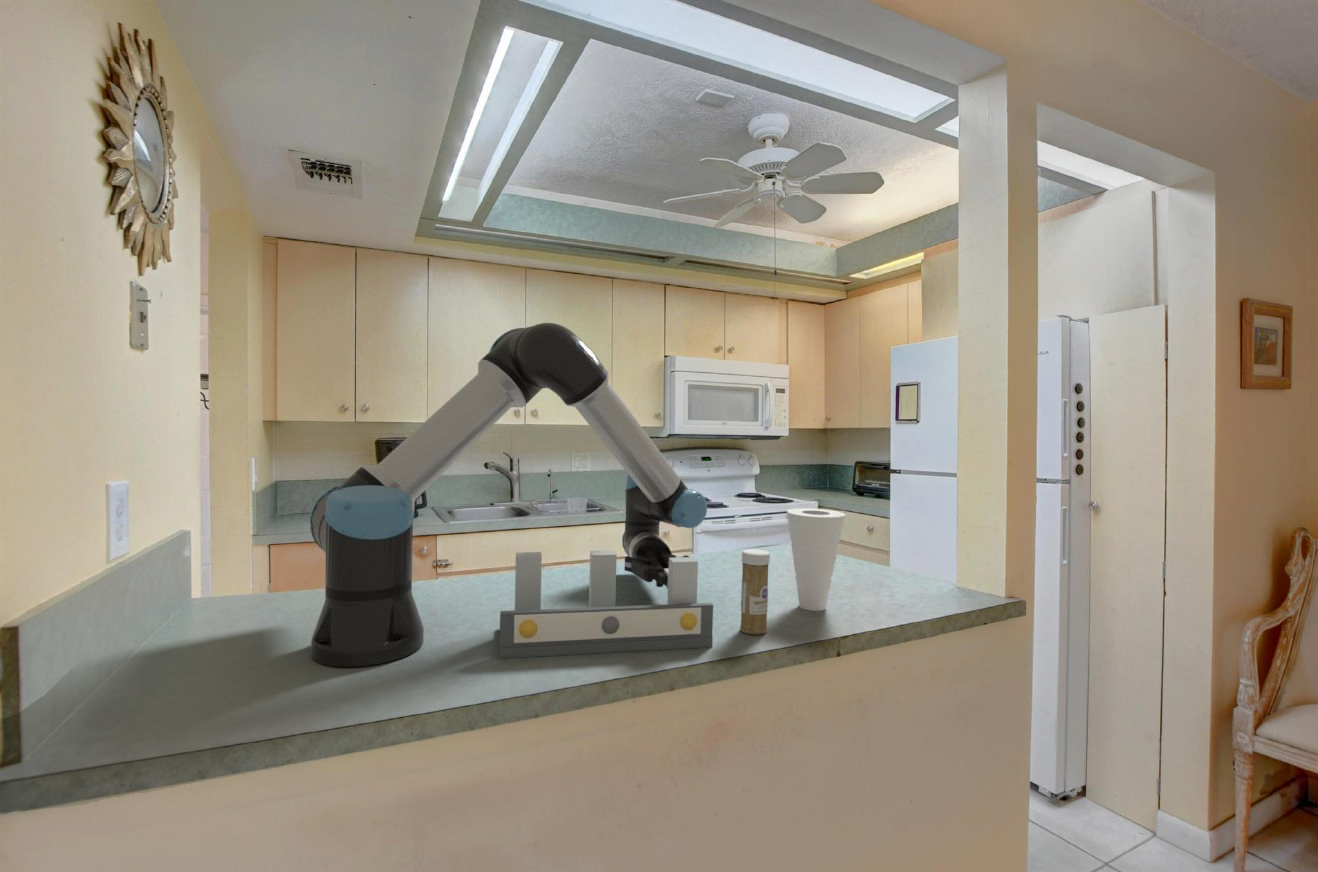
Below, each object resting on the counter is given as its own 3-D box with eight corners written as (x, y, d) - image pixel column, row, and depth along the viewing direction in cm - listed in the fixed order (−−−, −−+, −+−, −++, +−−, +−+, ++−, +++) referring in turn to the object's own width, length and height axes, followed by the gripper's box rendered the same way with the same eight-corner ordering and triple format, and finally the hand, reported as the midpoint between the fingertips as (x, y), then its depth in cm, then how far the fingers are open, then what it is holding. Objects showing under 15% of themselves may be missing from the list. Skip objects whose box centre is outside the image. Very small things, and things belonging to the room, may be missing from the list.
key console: (499, 659, 91) (500, 614, 90) (502, 628, 104) (502, 588, 103) (712, 647, 97) (714, 605, 97) (690, 619, 110) (691, 582, 110)
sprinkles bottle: (761, 637, 102) (764, 555, 102) (735, 632, 105) (737, 551, 104) (771, 629, 106) (773, 550, 106) (745, 624, 109) (748, 547, 108)
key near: (514, 625, 100) (515, 556, 99) (514, 619, 102) (515, 552, 102) (540, 624, 100) (541, 556, 100) (539, 618, 103) (541, 552, 103)
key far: (671, 631, 99) (673, 562, 98) (667, 625, 102) (668, 557, 101) (695, 630, 100) (697, 561, 99) (690, 624, 103) (692, 557, 102)
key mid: (590, 622, 102) (592, 555, 102) (588, 616, 105) (590, 551, 105) (615, 621, 103) (616, 554, 103) (612, 615, 106) (614, 550, 105)
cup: (773, 601, 123) (776, 509, 122) (819, 596, 126) (822, 507, 126) (804, 618, 113) (807, 518, 112) (853, 613, 116) (857, 516, 116)
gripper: (680, 571, 130) (713, 606, 106) (617, 573, 127) (637, 609, 104) (681, 535, 129) (714, 562, 106) (618, 536, 127) (638, 564, 104)
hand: (676, 586), depth 105 cm, fingers closed
